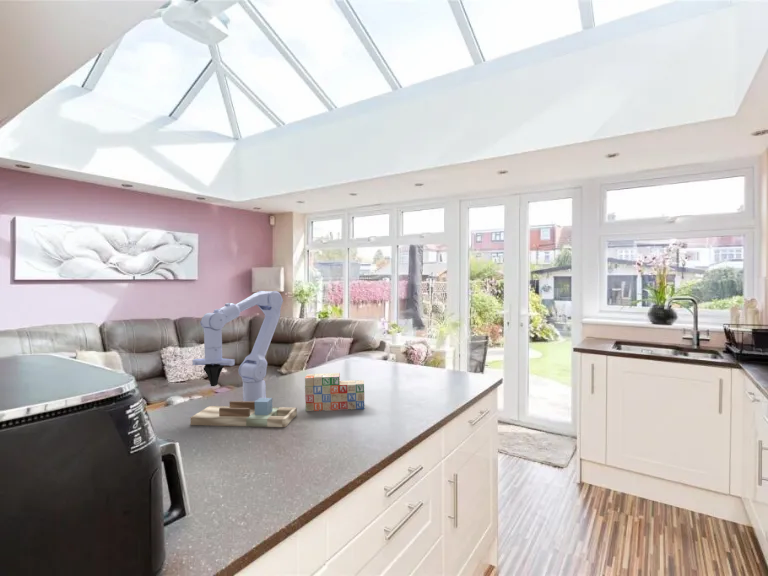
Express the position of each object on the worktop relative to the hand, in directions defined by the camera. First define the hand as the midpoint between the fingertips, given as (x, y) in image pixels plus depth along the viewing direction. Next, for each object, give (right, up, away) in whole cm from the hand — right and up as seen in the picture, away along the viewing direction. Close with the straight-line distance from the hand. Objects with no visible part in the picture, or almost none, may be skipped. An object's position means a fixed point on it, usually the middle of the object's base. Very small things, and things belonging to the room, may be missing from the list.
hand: (214, 385), depth 144 cm
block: (+19, -8, -6) cm, 21 cm away
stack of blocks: (+42, -10, +7) cm, 44 cm away
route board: (+13, -10, -5) cm, 17 cm away
